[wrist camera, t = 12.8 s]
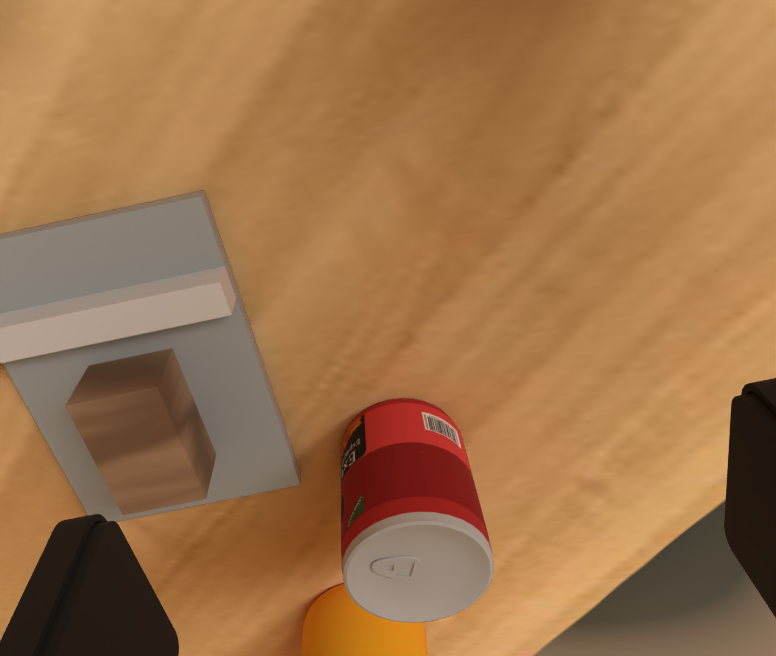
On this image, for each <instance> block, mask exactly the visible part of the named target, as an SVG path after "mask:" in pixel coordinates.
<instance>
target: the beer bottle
mask: <svg viewBox="0 0 776 656" xmlns="http://www.w3.org/2000/svg"><path fill="white" fill-rule="evenodd" d="M302 656H428V652H427V641H426V632H425V625H424V622H420V623H404V622H397V621H390V620H387V619H383V618H380V617H377V616H375V615H373V614H371V613H368V612H367V611H365V610H364V609H362V608H361V607H360V606H358V605H357V604H356V603H355V602H354V601H353V600H352V598H351V597H350V596H349V594H348V592H347V590H346V588H345V584H341V585H338V586H335V587H333V588H331V589H330V590H328V591H326V592H325V593H323V594H322V595H321V596H319V597H318V598H317V599H316V600H315V602H314V603H313V604H312V605H311V607H310V609H309V611H308V612H307V615H306V618H305V622H304V626H303V631H302Z"/></svg>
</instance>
